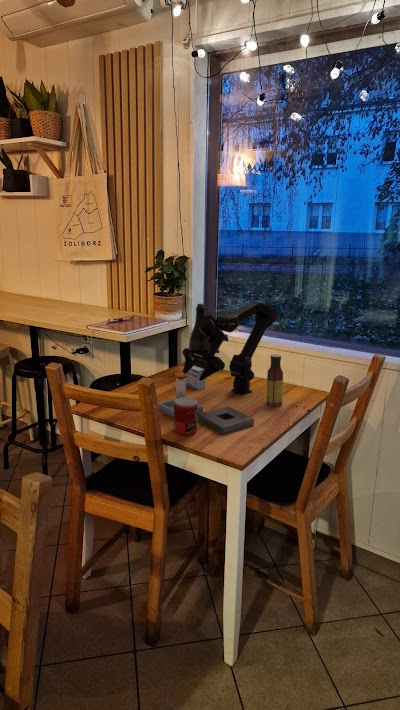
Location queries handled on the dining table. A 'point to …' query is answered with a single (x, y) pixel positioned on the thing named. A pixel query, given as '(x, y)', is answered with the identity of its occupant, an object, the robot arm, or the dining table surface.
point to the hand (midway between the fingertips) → (191, 377)
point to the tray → (169, 408)
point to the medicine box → (195, 378)
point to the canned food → (185, 416)
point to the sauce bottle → (275, 382)
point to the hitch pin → (180, 384)
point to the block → (219, 422)
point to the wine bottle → (198, 333)
